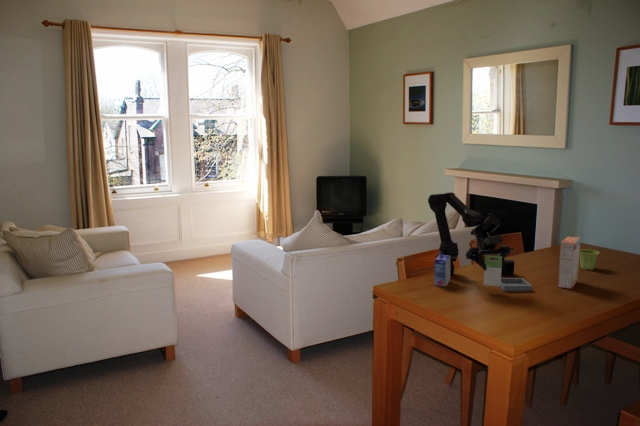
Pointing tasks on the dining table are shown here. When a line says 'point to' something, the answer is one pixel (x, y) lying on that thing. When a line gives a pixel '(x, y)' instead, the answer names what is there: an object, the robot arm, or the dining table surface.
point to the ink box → (493, 271)
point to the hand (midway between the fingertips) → (494, 269)
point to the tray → (515, 285)
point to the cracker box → (569, 262)
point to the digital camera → (507, 268)
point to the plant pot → (588, 258)
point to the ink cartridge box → (442, 270)
